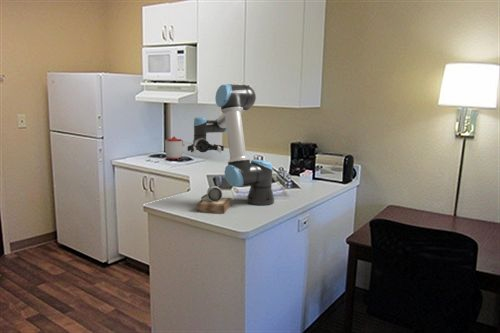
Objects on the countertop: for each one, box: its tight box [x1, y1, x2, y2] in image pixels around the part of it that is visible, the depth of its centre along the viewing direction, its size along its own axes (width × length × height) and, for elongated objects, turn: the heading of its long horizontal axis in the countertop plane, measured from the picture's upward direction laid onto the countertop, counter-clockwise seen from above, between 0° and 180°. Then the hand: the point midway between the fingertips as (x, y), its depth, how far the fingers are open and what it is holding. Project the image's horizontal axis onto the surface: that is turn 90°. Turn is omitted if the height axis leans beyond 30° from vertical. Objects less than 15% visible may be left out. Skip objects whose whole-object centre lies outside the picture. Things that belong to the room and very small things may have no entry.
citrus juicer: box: [164, 136, 186, 160], centre depth 358 cm, size 16×17×20 cm
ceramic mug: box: [200, 185, 223, 202], centre depth 211 cm, size 11×8×8 cm
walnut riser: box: [196, 197, 232, 214], centre depth 212 cm, size 14×15×4 cm
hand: (208, 150), depth 222 cm, fingers open, 13 cm apart
